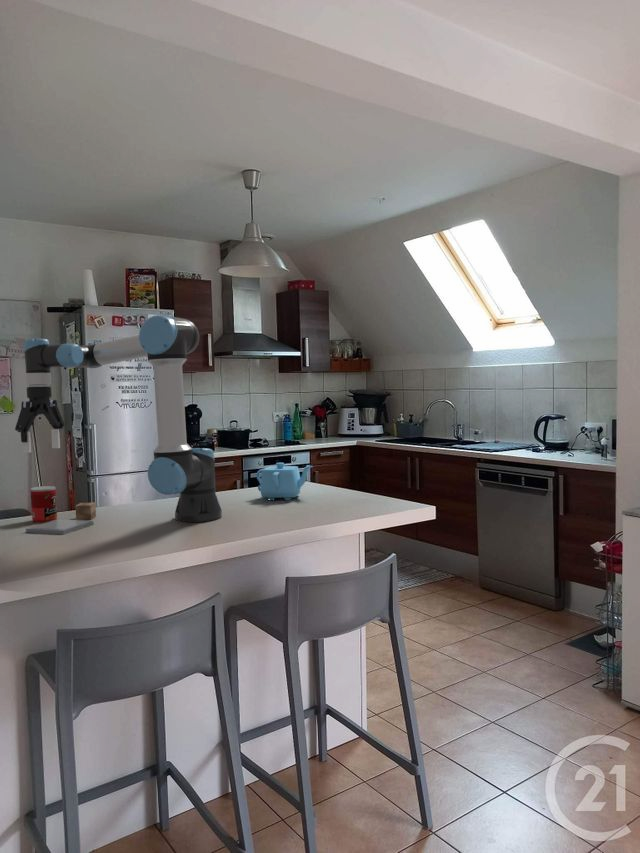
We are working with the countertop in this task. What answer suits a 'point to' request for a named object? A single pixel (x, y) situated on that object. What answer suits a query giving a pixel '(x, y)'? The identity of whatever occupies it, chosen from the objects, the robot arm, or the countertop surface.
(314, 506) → the countertop surface
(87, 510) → the walnut block
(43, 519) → the canned food
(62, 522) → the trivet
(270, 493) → the teapot
